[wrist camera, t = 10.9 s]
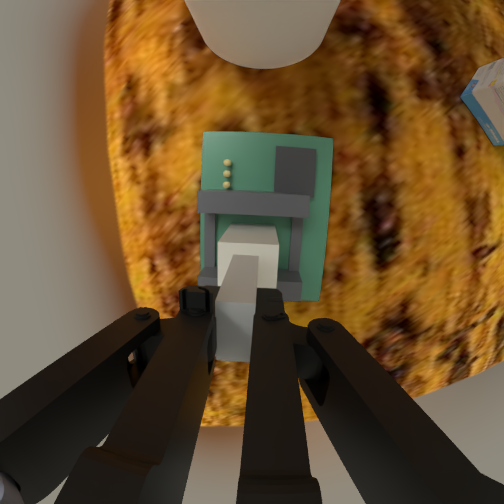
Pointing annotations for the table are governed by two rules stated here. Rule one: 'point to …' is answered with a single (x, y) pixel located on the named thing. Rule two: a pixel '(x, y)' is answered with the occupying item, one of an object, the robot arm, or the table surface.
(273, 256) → the plug
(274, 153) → the board
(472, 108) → the ink box
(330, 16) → the canister
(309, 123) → the table surface
